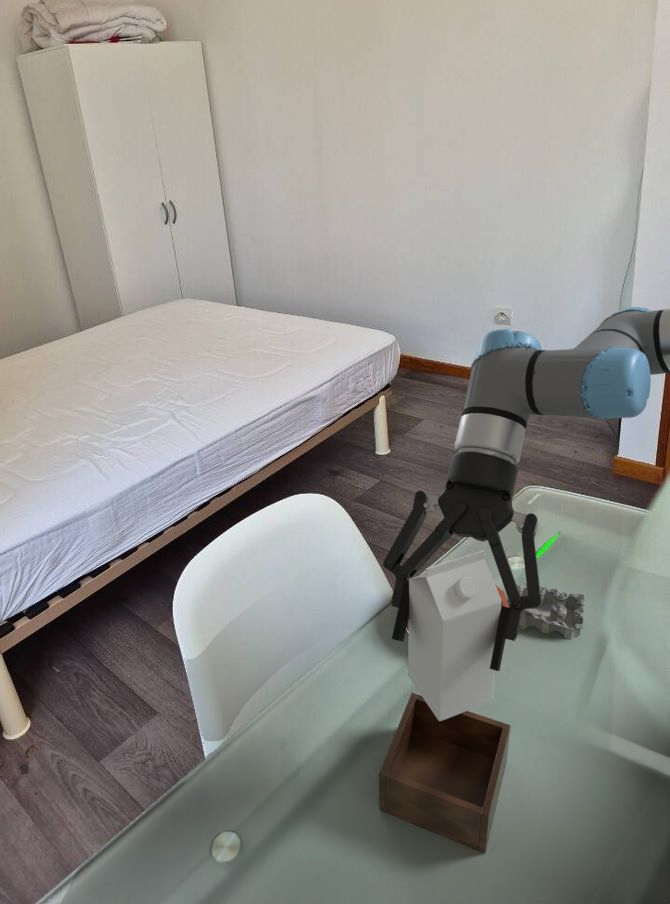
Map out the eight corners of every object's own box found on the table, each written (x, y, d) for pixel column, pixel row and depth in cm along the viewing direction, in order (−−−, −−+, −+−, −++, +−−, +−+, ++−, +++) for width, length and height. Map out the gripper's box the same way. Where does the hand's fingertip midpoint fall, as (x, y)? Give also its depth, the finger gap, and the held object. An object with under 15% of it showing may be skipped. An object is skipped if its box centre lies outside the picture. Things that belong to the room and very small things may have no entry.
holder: (506, 760, 87) (510, 724, 84) (485, 853, 77) (488, 816, 74) (411, 727, 93) (411, 692, 90) (379, 810, 83) (378, 773, 80)
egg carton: (507, 626, 108) (509, 606, 106) (515, 595, 114) (517, 575, 112) (580, 644, 104) (583, 624, 102) (584, 611, 110) (587, 591, 108)
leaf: (563, 533, 128) (563, 530, 128) (527, 571, 119) (527, 567, 119) (558, 531, 129) (559, 528, 128) (522, 569, 120) (522, 565, 120)
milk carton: (407, 676, 82) (409, 549, 74) (458, 657, 84) (465, 532, 76) (438, 723, 76) (444, 590, 68) (493, 701, 78) (505, 570, 70)
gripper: (589, 485, 78) (555, 687, 73) (399, 451, 88) (357, 627, 82) (590, 468, 72) (553, 688, 66) (385, 433, 81) (338, 623, 76)
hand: (444, 654), depth 74 cm, fingers closed on milk carton, 10 cm apart
